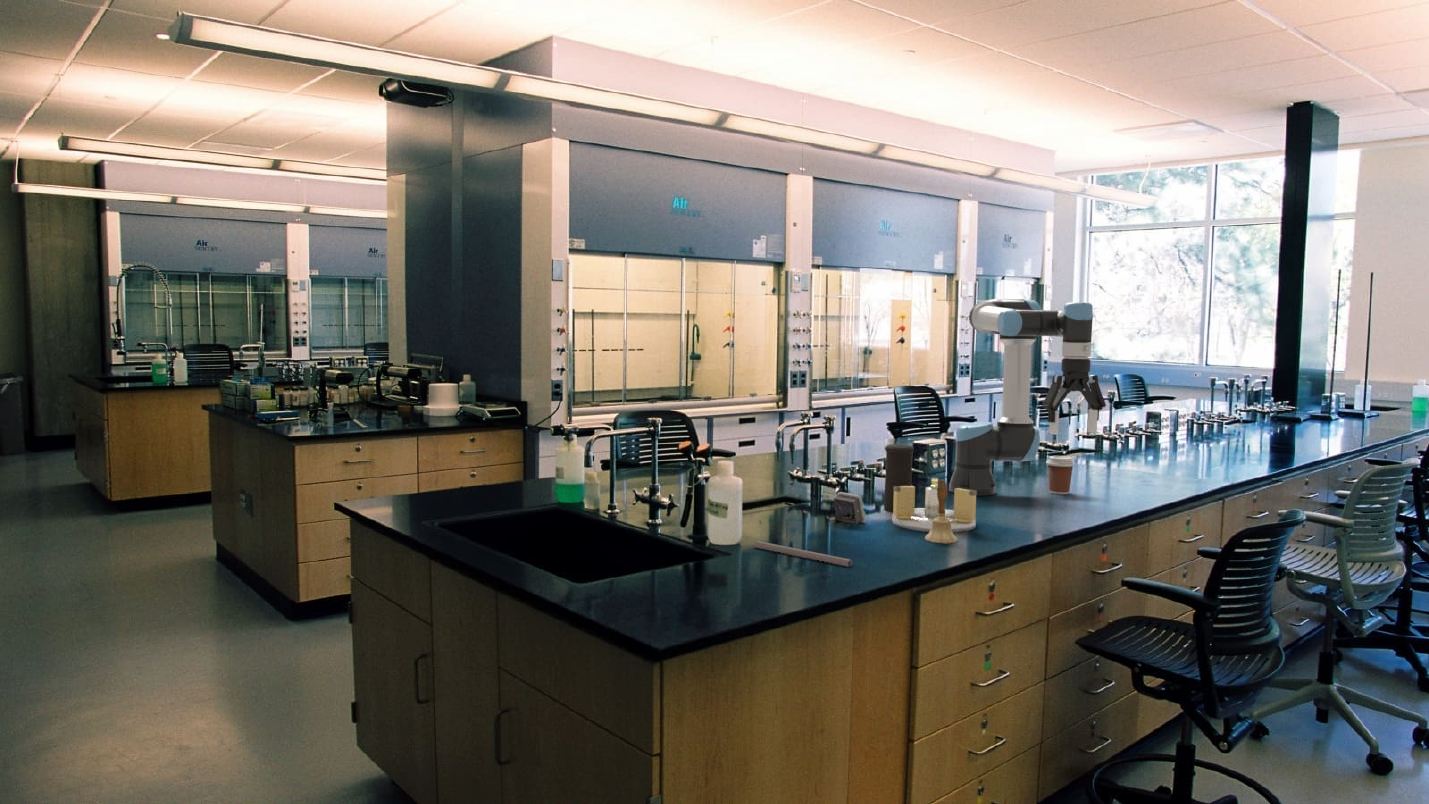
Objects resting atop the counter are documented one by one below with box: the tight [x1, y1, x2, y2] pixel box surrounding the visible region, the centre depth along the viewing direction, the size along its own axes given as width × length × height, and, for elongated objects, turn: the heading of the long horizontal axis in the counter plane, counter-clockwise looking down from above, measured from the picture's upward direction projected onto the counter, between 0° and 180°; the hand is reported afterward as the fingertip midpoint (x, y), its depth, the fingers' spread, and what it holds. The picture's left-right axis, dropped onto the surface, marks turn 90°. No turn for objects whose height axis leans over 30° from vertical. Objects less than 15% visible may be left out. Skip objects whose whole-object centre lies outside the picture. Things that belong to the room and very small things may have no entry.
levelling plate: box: [891, 484, 977, 534], centre depth 255 cm, size 23×23×11 cm
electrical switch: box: [833, 491, 866, 525], centre depth 257 cm, size 8×5×8 cm, turn 44°
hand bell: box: [924, 478, 958, 545], centre depth 236 cm, size 8×8×16 cm
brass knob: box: [930, 477, 939, 485], centre depth 264 cm, size 6×4×9 cm
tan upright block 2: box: [953, 488, 977, 523], centre depth 248 cm, size 6×4×9 cm
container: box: [883, 443, 915, 512], centre depth 273 cm, size 9×9×20 cm
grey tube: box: [753, 540, 853, 568], centre depth 218 cm, size 2×27×2 cm, turn 50°
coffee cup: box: [1045, 455, 1076, 495], centre depth 304 cm, size 9×9×12 cm
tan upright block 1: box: [892, 485, 916, 519], centre depth 252 cm, size 6×4×9 cm
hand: (1072, 433), depth 254 cm, fingers open, 13 cm apart
